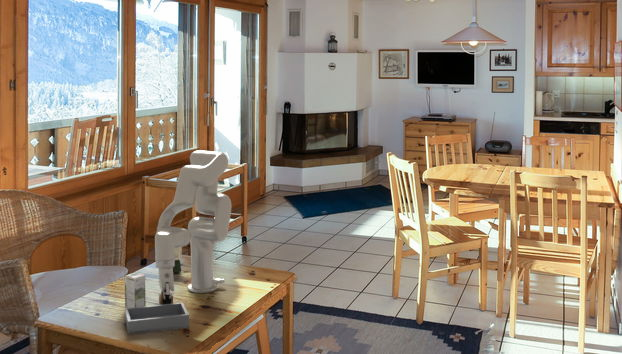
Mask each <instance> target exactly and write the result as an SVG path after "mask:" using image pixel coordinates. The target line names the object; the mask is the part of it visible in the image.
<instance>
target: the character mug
mask: <svg viewBox="0 0 622 354" xmlns="http://www.w3.org/2000/svg"><path fill="white" fill-rule="evenodd" d="M182 248H183V247H178V248H175V266H174V267H173V274H174V273H175V274H177V273H181V272H182V266H181V259H182V258H183V254H182V253H183V252H182V251H183V249H182Z"/></svg>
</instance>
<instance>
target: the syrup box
mask: <svg viewBox="0 0 622 354" xmlns="http://www.w3.org/2000/svg"><path fill="white" fill-rule="evenodd" d="M146 301H147V300H146V275H145V274H144V273H140V272H136V271H135V272H133V273H132V272H131V273H129V274H126V275H124V305H125V306H124V309H125V308H134V307H144V306H146V305H147V304H146Z"/></svg>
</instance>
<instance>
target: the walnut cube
mask: <svg viewBox="0 0 622 354" xmlns="http://www.w3.org/2000/svg"><path fill="white" fill-rule="evenodd" d="M170 293H171V304H174V295H173V293H172V292H170ZM165 294H166V293H165ZM163 299H164V298H163V293H161V292H160V293H158V305H163Z"/></svg>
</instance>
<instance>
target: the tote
mask: <svg viewBox="0 0 622 354" xmlns="http://www.w3.org/2000/svg"><path fill="white" fill-rule="evenodd" d="M124 322H125V326H126V330H127V334H128V336H129V335H137V334H145V333H155V332H164V331H171V330H180V329H189V328H190V314H189V312H188V309H187V308H186V306H185V304H184V302H176V303H174V302H173V304H164V305H159V304H155V305H147V306H144V307H134V308H125V307H124Z"/></svg>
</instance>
